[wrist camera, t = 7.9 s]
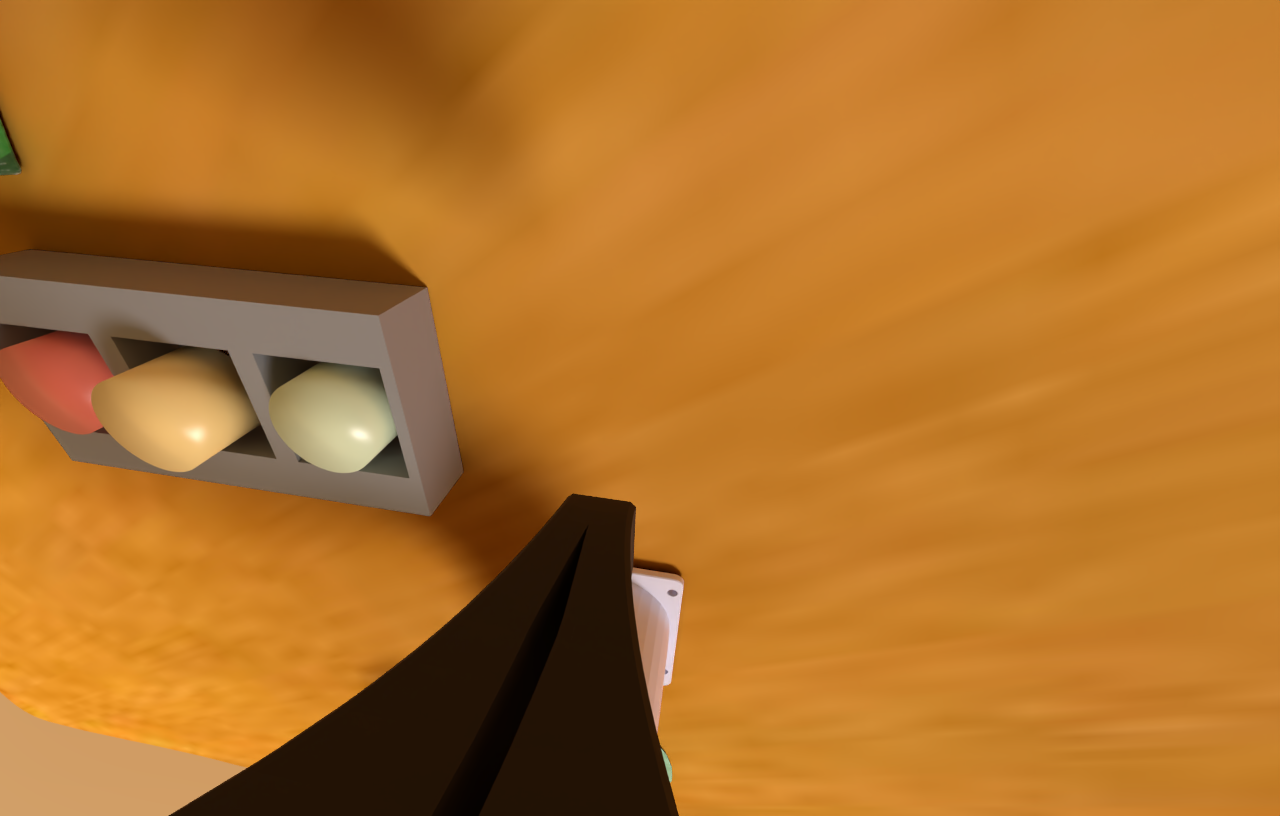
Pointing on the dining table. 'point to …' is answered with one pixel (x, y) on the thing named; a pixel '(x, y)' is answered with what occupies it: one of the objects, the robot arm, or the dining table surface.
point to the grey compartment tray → (253, 361)
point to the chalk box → (7, 155)
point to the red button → (56, 378)
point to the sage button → (334, 416)
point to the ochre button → (176, 408)
